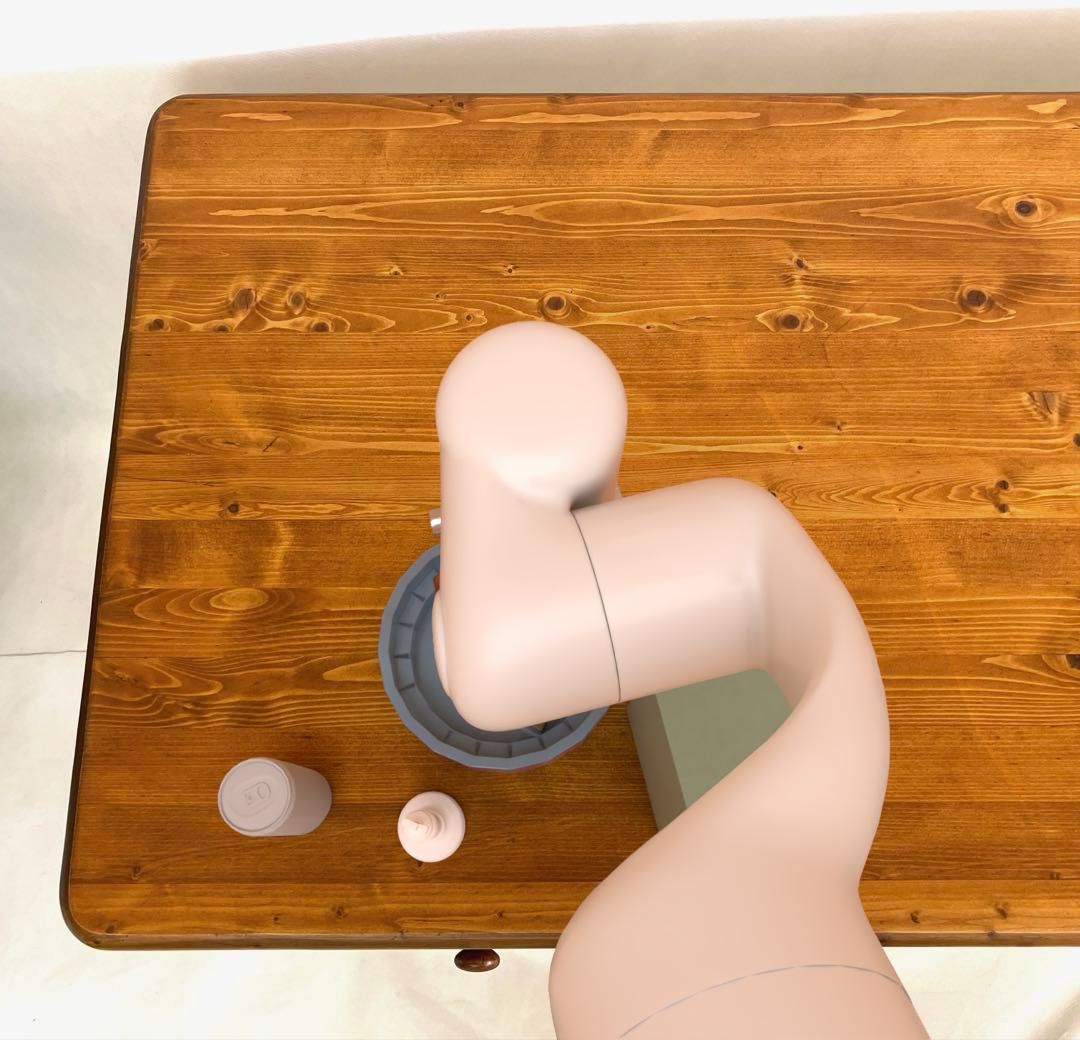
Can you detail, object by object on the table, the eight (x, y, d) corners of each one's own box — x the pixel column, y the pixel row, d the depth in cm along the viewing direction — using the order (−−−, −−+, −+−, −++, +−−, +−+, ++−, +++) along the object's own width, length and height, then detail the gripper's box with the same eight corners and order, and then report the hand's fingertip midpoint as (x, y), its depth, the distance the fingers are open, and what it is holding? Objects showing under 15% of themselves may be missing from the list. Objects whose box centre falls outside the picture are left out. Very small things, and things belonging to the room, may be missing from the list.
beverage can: (258, 786, 72) (203, 778, 61) (318, 755, 73) (275, 742, 62) (283, 847, 71) (232, 850, 60) (344, 815, 72) (305, 813, 60)
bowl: (645, 741, 73) (653, 734, 68) (415, 798, 72) (404, 796, 67) (587, 523, 78) (590, 501, 73) (371, 573, 77) (358, 554, 72)
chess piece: (451, 871, 70) (436, 878, 61) (387, 848, 71) (362, 851, 61) (474, 804, 72) (463, 800, 62) (412, 782, 72) (391, 774, 63)
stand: (793, 809, 72) (870, 802, 54) (661, 842, 71) (697, 846, 54) (752, 676, 75) (813, 630, 57) (625, 707, 74) (648, 670, 57)
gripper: (388, 613, 46) (432, 674, 64) (716, 535, 47) (671, 617, 65) (359, 469, 49) (410, 567, 66) (673, 398, 50) (641, 512, 67)
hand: (539, 591), depth 65 cm, fingers closed on stirring stick, 2 cm apart
